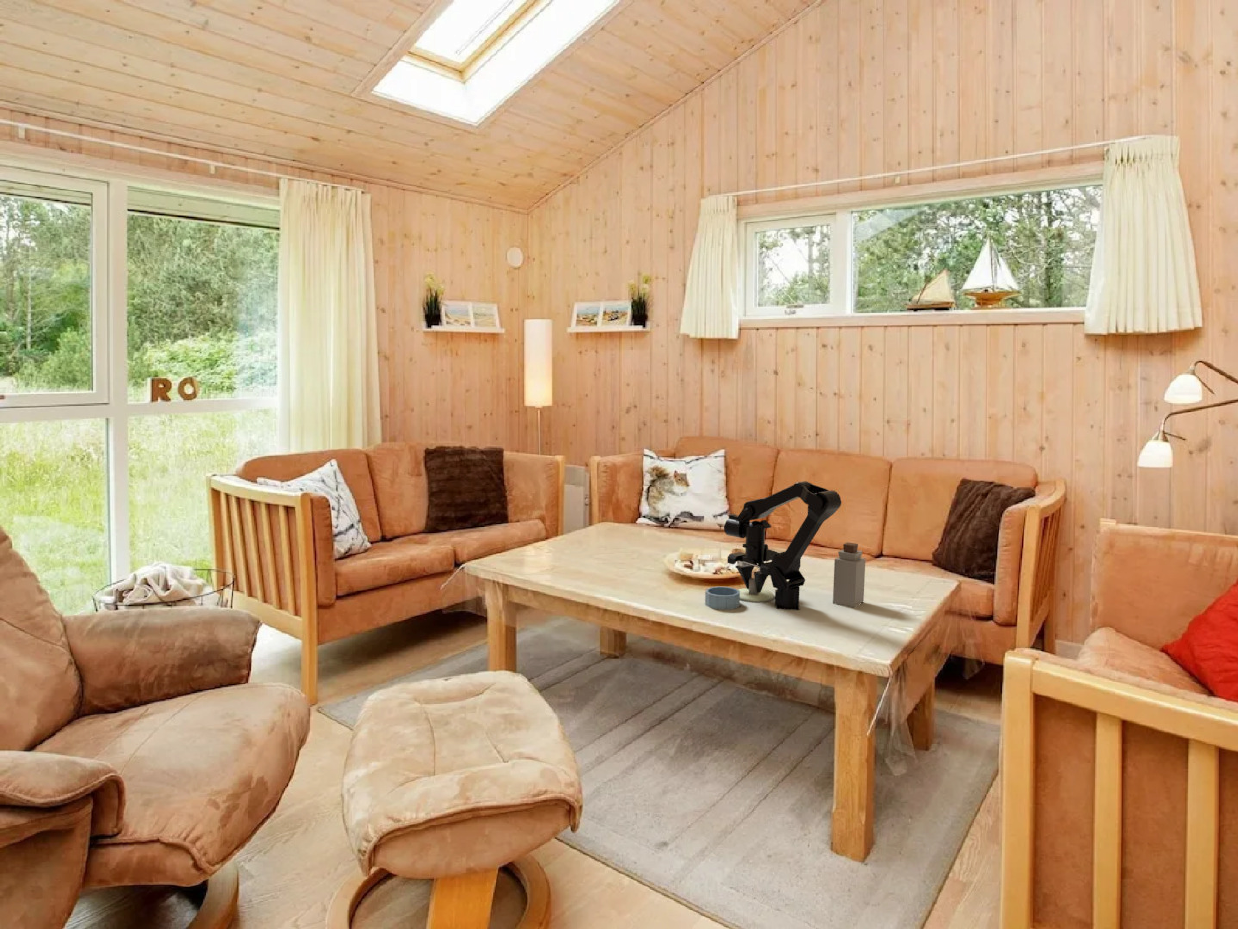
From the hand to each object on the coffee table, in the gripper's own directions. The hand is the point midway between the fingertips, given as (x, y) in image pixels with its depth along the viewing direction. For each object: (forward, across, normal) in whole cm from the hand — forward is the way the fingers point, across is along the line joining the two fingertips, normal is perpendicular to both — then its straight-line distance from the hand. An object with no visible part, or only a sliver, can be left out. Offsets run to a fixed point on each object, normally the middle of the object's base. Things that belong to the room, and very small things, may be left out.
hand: (753, 590), depth 236 cm
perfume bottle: (+2, -20, -20) cm, 28 cm away
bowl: (+2, -1, +13) cm, 14 cm away
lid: (+2, 0, 0) cm, 2 cm away
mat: (+2, 0, 0) cm, 2 cm away
